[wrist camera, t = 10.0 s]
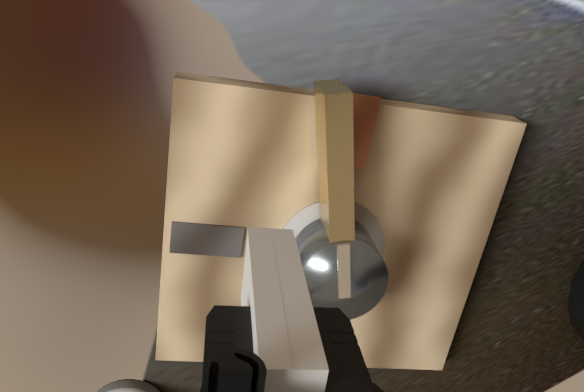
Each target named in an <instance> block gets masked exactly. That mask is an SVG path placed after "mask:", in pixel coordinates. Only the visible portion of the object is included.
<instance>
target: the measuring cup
mask: <svg viewBox="0 0 584 392" xmlns="http://www.w3.org/2000/svg"><path fill="white" fill-rule="evenodd" d="M314 100H315V123H316V146H317V169H318V192H319V215H320V219H318V220H315V221H313V222H312V223H310V224H308V225H307V226H306V227H305V228H304V229H303V230H301V232H300V233H299V234H298V236H297V237H296V239H295V240H296V244H297V247H298V251H299V255H300V259H301V263H302V267H303V271H304V275H305V279H306V282H307V286H308V290H309V294H310V298H311V302H312V306H313V307H328V308H339V309H340V310H341V311H342V312H343V313H344V314H345V315H346V316H347V317H348V318H349V319H350V320H351V319H355V318H357V317H360V316H362V315H364V314H366V313H367V312H369V311H370V310H372V309H373V308H374V307H375V306H376V305H377V304H378V303H379V302H380V300H381V299H382V298H383V296H384V294H385V292H386V289H387V286H388V279H389V277H388V270H387V266H386V264H385V262H384V260H383V258H382V257H381V255H380V253H379V251H378V249H377V247H376V246H375V244H374V242H373V240H372V238H371V237H370V235H369V233H368V231H367V230H366V229H365V227H364V226H363V225H361V224H360V223H359V222H357V221H356V220H354V135H353V92H352V91H351V90H350V89H349V88H348V87H347V86H346V85H345V84H344V83H343V82H342V81H340V80H339V79H333V80H322V81H314Z"/></svg>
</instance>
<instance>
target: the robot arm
mask: <svg viewBox="0 0 584 392" xmlns="http://www.w3.org/2000/svg"><path fill="white" fill-rule="evenodd" d="M569 315H570V319H571V322H572V325H573V327H574V329H575V330H576V332H577V333H578V334H579V336H580V337H581V338H582V339H583V340H584V262H583V264H582V265H581V267H580V269H579V271H578V272H577V275H576V277H575V279H574V281H573V284H572V287H571V291H570V296H569ZM200 392H384V391H383V390H382V389H380V388H379V387H378V386H377V385H376V384H374V383H372V381H371V378H370V375H369V372H368V369H367V367H366V364H365V361H364V358H363V355H362V352H361V350H360V347H359V345H358V341H357V338H356V335H355V334H354V330H353V327H352V324H351V321H350V319H349V318H348V317H347V316H346V315H345V314H344V313H343V312H342V311H341V310H340V309H339V308H328V307H313V306H312V302H311V298H310V294H309V290H308V286H307V282H306V279H305V275H304V271H303V267H302V263H301V259H300V255H299V251H298V247H297V244H296V240H295V236H294V232H293V229H275V228H257V227H248V230H247V240H246V250H245V261H244V271H243V282H242V292H241V306H221V305H214V307H213V308H212V309H211V311H210V312H209V313H208V315H207V316H206V327H205V342H204V357H203V374H202V387H201V390H200Z"/></svg>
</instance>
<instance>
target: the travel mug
mask: <svg viewBox="0 0 584 392" xmlns="http://www.w3.org/2000/svg"><path fill="white" fill-rule="evenodd" d="M98 392H160V391H159V390H158V389H157V388H156V387H154V386H153V385H151V384H149V383H147V382H144V381H141V380H135V379H124V380H118V381H114V382H111V383H109V384H107V385H105V386H104V387H103V388H101V389H99V390H98Z"/></svg>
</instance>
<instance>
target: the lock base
mask: <svg viewBox="0 0 584 392" xmlns="http://www.w3.org/2000/svg"><path fill="white" fill-rule="evenodd" d="M526 125H527V123H525V122H523V121H521V120H519V119H517V118H515V117H513V116H508V115H501V114H493V113H486V112H478V111H470V110H463V109H455V108H448V107H440V106H433V105H425V104H417V103H410V102H402V101H395V100H387V99H381V97H377V96H370V95H362V94H355V93H353V135H354V220H356V221H357V222H359V223H360V224H361V225H363V226H364V227H365V229H366V230H367V231H368V233H369V235H370V237H371V238H372V240H373V242H374V244H375V246H376V247H377V249H378V251H379V253H380V255H381V257H382V258H383V260H384V262H385V264H386V266H387V270H388V277H389V279H388V286H387V289H386V292H385V294H384V296H383V298H382V299H381V300H380V302H379V303H378V304H377V305H376V306H375V307H374V308H373V309H372V310H370V311H369V312H367V313H366V314H364V315H362V316H360V317H357V318H355V319H351V320H350V321H351V324H352V327H353V330H354V334H355V335H356V338H357V341H358V345H359V347H360V350H361V352H362V355H363V358H364V361H365V364H366V367H367V368H392V369H420V370H442V369H443V366H444V363H445V360H446V357H447V354H448V351H449V349H450V346H451V343H452V340H453V337H454V334H455V331H456V328H457V325H458V322H459V319H460V317H461V314H462V311H463V308H464V305H465V302H466V299H467V296H468V293H469V290H470V288H471V285H472V282H473V279H474V276H475V273H476V270H477V267H478V264H479V261H480V259H481V256H482V253H483V250H484V247H485V244H486V241H487V238H488V235H489V232H490V230H491V227H492V224H493V221H494V218H495V215H496V212H497V209H498V206H499V203H500V200H501V198H502V195H503V192H504V189H505V186H506V183H507V180H508V177H509V174H510V171H511V169H512V166H513V163H514V160H515V157H516V154H517V151H518V148H519V145H520V142H521V140H522V137H523V134H524V131H525V128H526ZM318 219H320V215H319V192H318V169H317V146H316V123H315V100H314V90H311V89H304V88H296V87H289V86H281V85H274V84H266V83H258V82H251V81H243V80H236V79H228V78H221V77H213V76H205V75H198V74H190V73H182V72H176V74H175V76H174V81H173V96H172V113H171V127H170V144H169V159H168V174H167V189H166V204H165V220H164V236H163V251H162V267H161V281H160V296H159V313H158V327H157V343H156V358H155V360H165V361H194V362H203V357H204V342H205V327H206V316H207V315H208V313H209V312H210V311H211V309H212V308H213V307H214V305H221V306H241V292H242V282H243V271H244V261H245V250H246V240H247V230H248V227H257V228H275V229H293V232H294V236H295V239H296V237H297V236H298V234H299V233H300V232H301V230H303V229H304V228H305V227H306V226H307V225H308V224H310V223H312V222H313V221H315V220H318Z"/></svg>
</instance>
